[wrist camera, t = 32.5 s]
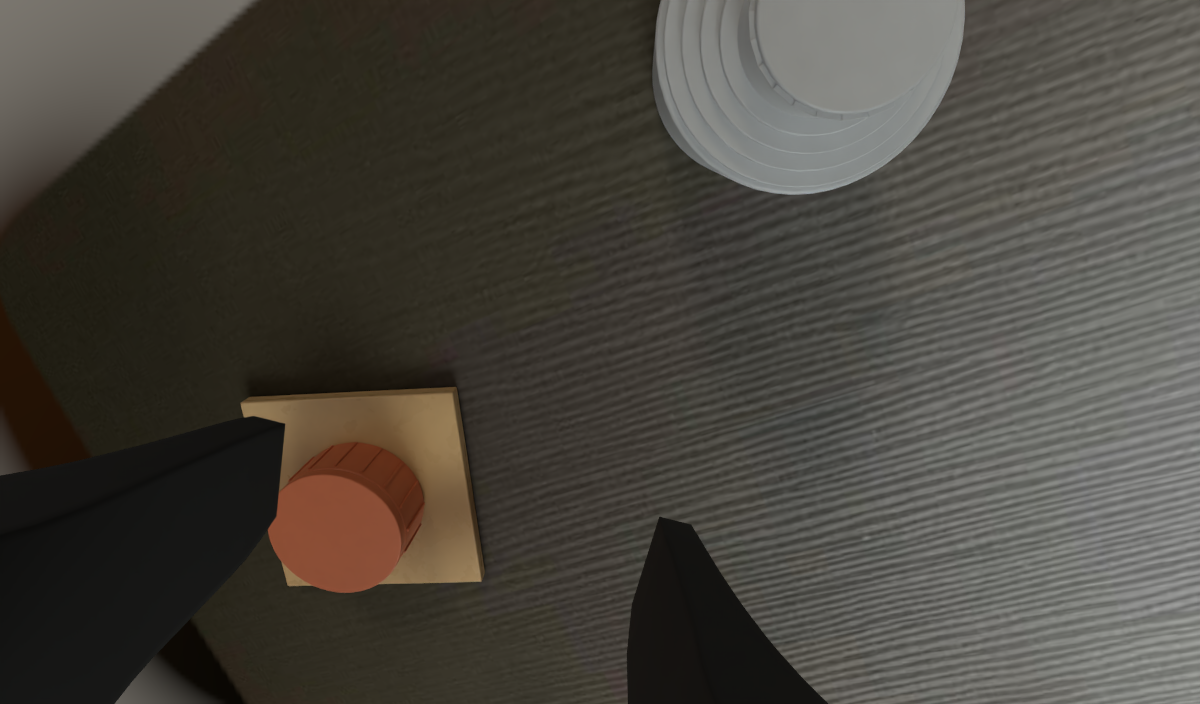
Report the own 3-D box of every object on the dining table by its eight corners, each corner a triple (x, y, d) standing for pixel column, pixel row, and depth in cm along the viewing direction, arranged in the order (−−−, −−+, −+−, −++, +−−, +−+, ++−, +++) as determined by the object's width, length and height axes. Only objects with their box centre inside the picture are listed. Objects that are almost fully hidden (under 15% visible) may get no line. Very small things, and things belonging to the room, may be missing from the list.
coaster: (248, 396, 23) (239, 402, 23) (457, 386, 23) (452, 392, 22) (295, 576, 26) (287, 586, 25) (485, 572, 25) (481, 582, 25)
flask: (621, 9, 19) (597, -113, 10) (827, -86, 18) (1021, -325, 9) (692, 207, 20) (731, 264, 11) (885, 130, 19) (1102, 124, 10)
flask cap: (307, 428, 23) (270, 459, 21) (433, 457, 23) (410, 492, 21) (298, 535, 24) (262, 576, 22) (416, 563, 24) (393, 606, 22)
